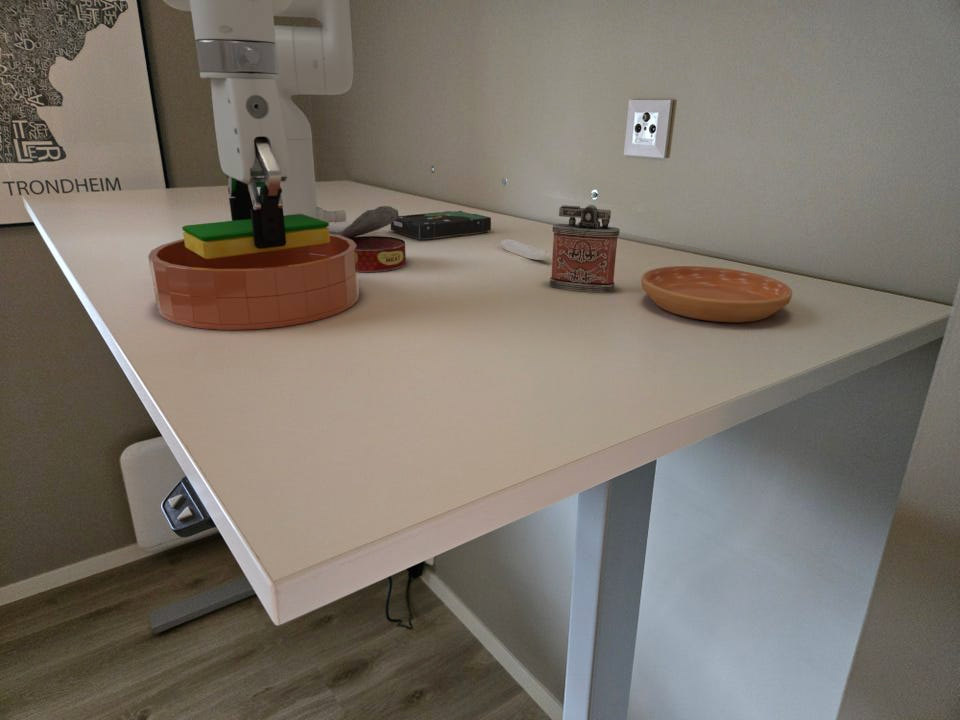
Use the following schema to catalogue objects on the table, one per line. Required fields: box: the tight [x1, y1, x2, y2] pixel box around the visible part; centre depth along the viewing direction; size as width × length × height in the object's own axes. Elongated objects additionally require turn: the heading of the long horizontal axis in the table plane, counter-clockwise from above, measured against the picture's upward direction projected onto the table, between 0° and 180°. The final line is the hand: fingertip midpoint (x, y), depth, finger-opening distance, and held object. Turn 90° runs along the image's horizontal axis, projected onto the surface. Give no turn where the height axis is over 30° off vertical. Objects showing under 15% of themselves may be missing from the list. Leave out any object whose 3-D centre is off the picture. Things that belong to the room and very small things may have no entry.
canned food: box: [337, 205, 407, 273], centre depth 90 cm, size 11×10×10 cm
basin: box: [147, 232, 360, 331], centre depth 73 cm, size 22×22×6 cm
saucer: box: [640, 265, 793, 323], centre depth 73 cm, size 16×16×3 cm
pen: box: [500, 238, 552, 261], centre depth 97 cm, size 2×14×2 cm, turn 27°
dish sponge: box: [181, 214, 331, 259], centre depth 71 cm, size 7×14×2 cm, turn 129°
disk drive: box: [390, 210, 492, 240], centre depth 114 cm, size 10×3×15 cm
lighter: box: [549, 204, 621, 293], centre depth 79 cm, size 8×3×10 cm, turn 71°
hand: (259, 238), depth 72 cm, fingers closed on dish sponge, 7 cm apart
